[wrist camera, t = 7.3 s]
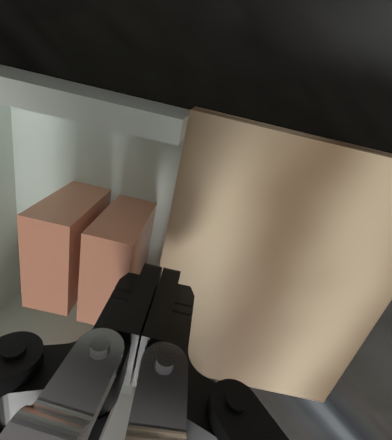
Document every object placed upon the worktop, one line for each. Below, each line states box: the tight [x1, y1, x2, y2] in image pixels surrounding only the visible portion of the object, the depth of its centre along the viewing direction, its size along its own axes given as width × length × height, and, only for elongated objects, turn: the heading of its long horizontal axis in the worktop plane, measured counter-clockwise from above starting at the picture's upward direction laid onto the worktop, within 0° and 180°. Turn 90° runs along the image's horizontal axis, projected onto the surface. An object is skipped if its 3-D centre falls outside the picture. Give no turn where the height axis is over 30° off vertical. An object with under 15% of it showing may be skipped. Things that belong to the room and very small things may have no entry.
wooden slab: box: [160, 107, 392, 402], centre depth 15 cm, size 11×14×3 cm
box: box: [0, 64, 190, 395], centre depth 14 cm, size 9×14×5 cm
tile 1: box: [76, 194, 157, 325], centre depth 13 cm, size 4×4×2 cm
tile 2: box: [17, 181, 111, 316], centre depth 13 cm, size 4×4×2 cm
